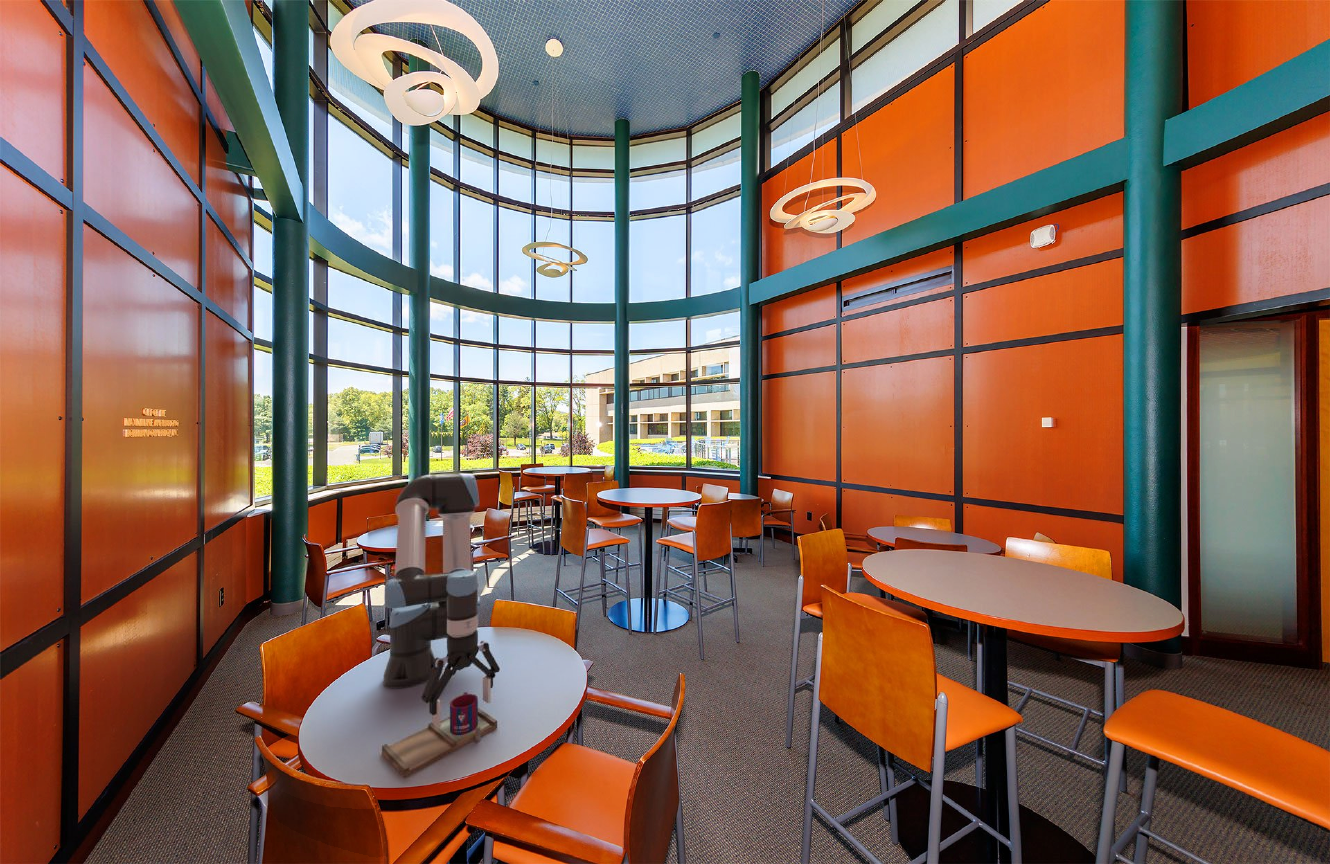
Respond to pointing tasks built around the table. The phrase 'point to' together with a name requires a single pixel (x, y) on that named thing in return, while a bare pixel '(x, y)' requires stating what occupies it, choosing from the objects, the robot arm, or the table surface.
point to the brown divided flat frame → (433, 744)
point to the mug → (463, 714)
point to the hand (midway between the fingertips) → (462, 712)
